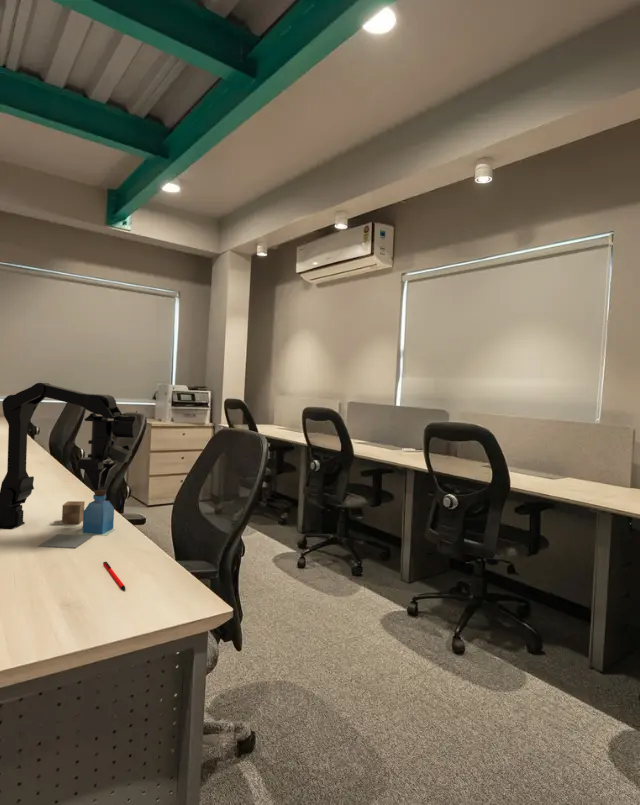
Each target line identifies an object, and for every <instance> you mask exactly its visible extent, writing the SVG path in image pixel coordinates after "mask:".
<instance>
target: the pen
mask: <svg viewBox="0 0 640 805" xmlns="http://www.w3.org/2000/svg"><path fill="white" fill-rule="evenodd" d="M102 563H103V566H104V568H105V569H106V571H108V573H109V574H110V576H111V577H112V578H113V580H114V581H115V582H116V584H117V585H118V586H119V588H120V589H121V590H122V591H126V586H125V584H124V583H123V581H122V580H121V578H119V577H118V575H117V574H116V573H115V571H114V570H113V569H112V567H111V565H110V564H109V563H108V562H107V561H103V562H102Z"/></svg>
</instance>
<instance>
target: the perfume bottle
mask: <svg viewBox="0 0 640 805" xmlns="http://www.w3.org/2000/svg"><path fill="white" fill-rule="evenodd" d="M93 492H94V494H93V496H92V497H93V501H91V502H88V505H87V506H86V507H85V508H84V512H83V521H82V530H83V533H93V534H104V533H106V532H108V531H110V530H111V529H114V518H115V508H114V506H113V504H112V503H111V502H110V500H106V499H107V494H106V490H105V489H98V490H93Z"/></svg>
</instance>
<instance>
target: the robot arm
mask: <svg viewBox="0 0 640 805" xmlns="http://www.w3.org/2000/svg"><path fill="white" fill-rule="evenodd" d="M46 398H48V399H52V400H56V401H59V402H64V403H67V404H72V405H75V406H76V405H77V406H79V407H81V408H83V409H85V410H86V411H87V412H91V413H90V414H89V415H88V416H87V417H85V418H84V421H85V422H91V439H89V440H88V445H90V453H88V454H87V457H82V458H79V459H78V460H77V461H76V466H75V467H76V468H75V469H76V470H83V471H85V473H86V475H87V478H88V480H89V481H90V483H91V486H92V488H93V491H95V490H100V487H101V488H105V487H106V484H107V481H108V478H109V477H110V476H109V475H110V472H111V470H112V469H113V468H114V467H115V466H117V465H118V463H120V464H124V463H128V462H129V459H130V457H132V456H133V451H132V446H131V445H129V444H124V445H123V446H120V445H116V440H115V439H113V436H114V437H115V438H118V439H119V438H120V439H137V438H139V434H140V431H141V430H140V429H141V428H140V423H139V420H138V416H137V415H123V413H122V411H121V410H120V409H119V407H118V406H117V401H116V399H115V397H114V396H113V395H110V394H101V393H100V394H98V393H85V392H81V391H78V390H73V389H70V388H65V387H61V386H57V385H53V384H51V383H48V382H37V383H35V384H33V385H32V386H30V387H28V388H26V389H23V390H21V391H18V392H16V393H14V394H9V395H7V396H6V397H5V398H3V400H2V404H1V406H2V412H3V416H4V419H5V421H6V422H7V424H8V425H7V426H8V432H7V433H8V434H7V439H8V440H7V467H6V468H7V469H6V474H5V475H4V477H3V479H2V481H1V486H0V529H2V530H13V529H15V528H18V527H20V526H22V525H25V524H26V522H25V521H24V512H25V511H24V509H23V504H25V503H26V501H27V498H29V496H30V495H32V491H34V490H35V488H34V481H35V476H33V475H31V476H29V473H28V472H27V456H28V454H27V453H28V450H27V449H28V446H27V445H28V425H29V422H30V420H31V418H32V417H33V415H34V409H35V406H36V405H38V404H40V403H41V402H42V401H43V400H45V399H46ZM114 461H117V462H118V463H117V462H114Z"/></svg>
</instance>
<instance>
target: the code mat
mask: <svg viewBox="0 0 640 805" xmlns="http://www.w3.org/2000/svg"><path fill="white" fill-rule="evenodd" d="M114 531H115V529H114V528H113V529H111V530H110V531H108V532H106V533H104V534H93V533H83V529H82V530H80V531H79V532H77V533H76V535H84V536H97V537H98V536H100V537H101V536H102V537H108V536H109V535H110V534H112V533H113V532H114Z"/></svg>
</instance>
